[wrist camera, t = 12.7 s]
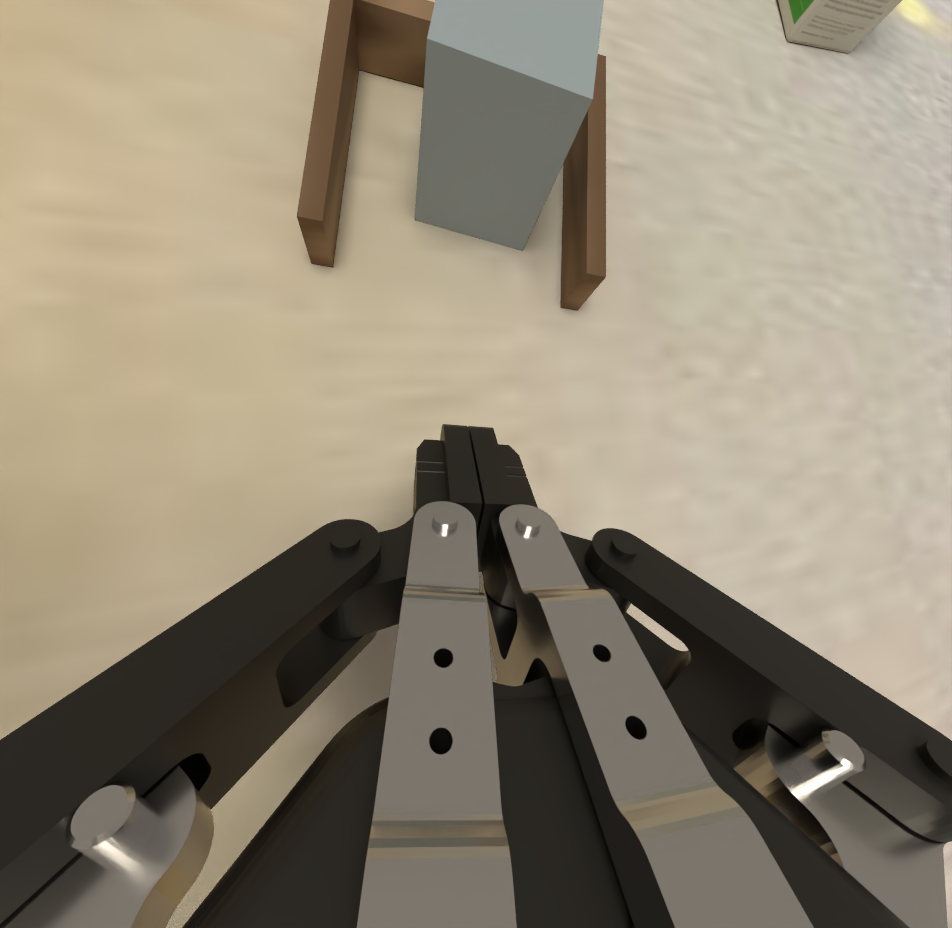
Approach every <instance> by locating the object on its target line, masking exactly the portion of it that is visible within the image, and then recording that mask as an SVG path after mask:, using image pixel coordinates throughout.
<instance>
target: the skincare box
mask: <svg viewBox="0 0 952 928" xmlns="http://www.w3.org/2000/svg"><path fill="white" fill-rule="evenodd" d="M901 1H902V0H778V2H779V6H780V11H781V15H782V20H783V25H784V29H785V35H786V38H787V41H788V42H794V43H799V44H804V45H809V46H814V47H819V48H824V49H829V50H834V51H839V52H844V53H850V52H851V51H852V50H853V49H854V48H855V47H856V46H857V45H858V44H859V43H860V42H861V41H862V40H863V39H864V38H865V37H866V36H867V35H868V34H869V33H870V32H871V31H872V30H873V29H874V28H875V27H876V26H877V25H878V24H879V23H880V22H881V21H882V20H883V19H884V18H885V17H886V16H887V15H888V14H889V13H890V12H891V11H892V10H893V9H894V8H895V7H896V6H897V5H898V4H899V3H900V2H901Z"/></svg>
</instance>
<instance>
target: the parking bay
mask: <svg viewBox="0 0 952 928" xmlns="http://www.w3.org/2000/svg"><path fill="white" fill-rule="evenodd" d="M434 4H435V3H434V2H431V1H427V0H330V4H329V10H328V17H327V23H326V30H325V36H324V43H323V49H322V56H321V62H320V69H319V75H318V82H317V89H316V95H315V102H314V108H313V115H312V121H311V128H310V134H309V141H308V147H307V154H306V160H305V167H304V173H303V180H302V186H301V193H300V199H299V206H298V212H297V218H298V221H299V225H300V228H301V231H302V234H303V238H304V241H305V244H306V247H307V250H308V254H309V257H310V260H311V263H313V264H319V265H324V266H330V267H333V262H334V255H335V247H336V240H337V232H338V225H339V217H340V209H341V202H342V194H343V187H344V179H345V172H346V164H347V157H348V149H349V142H350V134H351V126H352V119H353V111H354V104H355V96H356V89H357V81H358V74H359V70H363V71H366V72H370V73H374V74H378V75H381V76H385V77H389V78H392V79H396V80H400V81H403V82H407V83H411V84H414V85H418V86H422V87H424V76H425V61H426V46H427V36H428V32H429V27H430V22H431V18H432V13H433V9H434ZM605 277H606V56H603V55H600V54H598V56H597V66H596V75H595V84H594V93H593V100H592V102H591V104H590V106H589V109H588V111H587V113H586V115H585V117H584V119H583V122H582V124H581V126H580V128H579V130H578V132H577V134H576V137H575V139H574V141H573V143H572V145H571V147H570V150H569V152H568V154H567V156H566V158H565V160H564V180H563V228H562V275H561V307H562V308H568V309H574V310H578V309H579V308H580V307H581V306H582V304H583V303H584V302H585V301H586V300H587V299H588V297H589V296H590V295H591V294H592V293H593V291H594V290H595V289H596V288H597V287H598V286H599V284H600V283H601V282H602V281H603V280H604V278H605Z"/></svg>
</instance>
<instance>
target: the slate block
mask: <svg viewBox="0 0 952 928" xmlns="http://www.w3.org/2000/svg"><path fill="white" fill-rule="evenodd" d="M603 2H604V0H435V4H434V9H433V13H432V18H431V22H430V27H429V32H428V36H427V46H426V61H425V76H424V90H423V105H422V120H421V134H420V149H419V164H418V179H417V193H416V208H415V220H416V221H420V222H423V223H427V224H430V225H434V226H437V227H441V228H444V229H448V230H451V231H455V232H458V233H462V234H465V235H469V236H472V237H476V238H479V239H483V240H486V241H490V242H493V243H497V244H500V245H504V246H507V247H511V248H514V249H518V250H521V251H523V249H524V246H525V244H526V242H527V240H528V238H529V236H530V234H531V231H532V229H533V227H534V225H535V223H536V221H537V218H538V216H539V214H540V212H541V210H542V208H543V206H544V203H545V201H546V199H547V197H548V195H549V193H550V190H551V188H552V186H553V184H554V182H555V180H556V178H557V175H558V173H559V171H560V169H561V167H562V165H563V162H564V160H565V158H566V156H567V154H568V152H569V150H570V147H571V145H572V143H573V141H574V139H575V137H576V134H577V132H578V130H579V128H580V126H581V124H582V122H583V119H584V117H585V115H586V113H587V111H588V109H589V106H590V104H591V102H592V100H593V93H594V84H595V75H596V66H597V56H598V47H599V38H600V29H601V20H602V11H603Z"/></svg>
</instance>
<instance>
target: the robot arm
mask: <svg viewBox="0 0 952 928" xmlns="http://www.w3.org/2000/svg"><path fill="white" fill-rule="evenodd" d="M478 572H482V574H483V581H484V582H483V586H482V590H481V593H480V589H479V573H478ZM631 603H632V604H633V605H634V606H636V607H637V608H638V609H640V610H641V611H642V612H644V613H645V614H646V615H648V616H649V617H650V618H652V619H653V620H654V621H656V622H657V623H658V624H660V625H661V626H662V627H664V628H665V629H666V630H668V631H669V632H670V633H672V634H673V635H674V636H676V637H677V638H678V639H680V640H681V641H682V642H683V643H684V644H685V645H686V646H687V648H688V649H689V650H688V651H679V650H676V649H674V648H672V647H671V646H669V645H668V644H667V643H665V642H664V641H663V640H661V639H660V638H659V637H657V636H656V635H655V634H654V633H652V632H651V631H650V630H648V629H647V628H646V627H644V626H643V625H642V624H641V623H639V622H638V621H637V620H635V619H634V618H633V617H631V616H630V615H629V614H628V613H626V611H627V609H628V608H629V606H630V604H631ZM396 624H399V628H398V635H397V642H396V650H395V657H394V665H393V672H392V680H391V687H390V694H389V697H388V698H386V699H384V700H381V701H379V702H377V703H375V704H373V705H372V706H370V707H369V708H367V709H366V710H364V711H362V712H361V713H360V714H358V715H357V716H356V717H355V718H353V719H352V720H351V721H350V722H349V723H347V724H346V725H345V726H344V727H343V728H342V729H341V730H340V731H339V732H338V733H337V734H336V735H335V736H334V737H333V739H332V740H331V741H330V742H329V743H328V744H327V746H326V747H325V748H324V749H323V751H322V752H321V753H320V754H319V756H318V757H317V758H316V760H315V761H314V762H313V763H312V765H311V766H310V767H309V768H308V770H307V771H306V772H305V773H304V775H303V776H302V777H301V778H300V780H299V781H298V782H297V784H296V785H295V786H294V787H293V789H292V790H291V791H290V792H289V794H288V795H287V796H286V797H285V799H284V800H283V801H282V802H281V804H280V805H279V806H278V808H277V809H276V810H275V811H274V813H273V814H272V815H271V816H270V818H269V819H268V820H267V821H266V823H265V824H264V825H263V827H262V828H261V829H260V830H259V832H258V833H257V834H256V835H255V837H254V838H253V839H252V840H251V842H250V843H249V844H248V845H247V847H246V848H245V849H244V851H243V852H242V853H241V854H240V856H239V857H238V858H237V859H236V861H235V862H234V863H233V864H232V866H231V867H230V868H229V869H228V871H227V872H226V873H225V875H224V876H223V877H222V878H221V880H220V881H219V882H218V883H217V885H216V886H215V887H214V888H213V890H212V891H211V892H210V893H209V895H208V896H207V897H206V898H205V900H204V901H203V902H202V904H201V905H200V906H199V907H198V909H197V910H196V911H195V912H194V914H193V915H192V916H191V917H190V919H189V920H188V921H187V922H186V924H185V925H184V926H183V927H182V928H948V927H947V910H946V893H945V876H944V859H943V847H944V845H945V844H946V843H947V842H950V841H952V741H951V740H950V739H949V738H947V737H946V736H944V735H943V734H941V733H940V732H938V731H937V730H935V729H934V728H932V727H931V726H929V725H927V724H926V723H924V722H923V721H921V720H920V719H918V718H917V717H915V716H913V715H912V714H910V713H909V712H907V711H906V710H904V709H903V708H901V707H900V706H898V705H896V704H895V703H893V702H892V701H890V700H889V699H887V698H886V697H884V696H882V695H881V694H879V693H878V692H876V691H875V690H873V689H872V688H870V687H869V686H867V685H865V684H864V683H862V682H861V681H859V680H858V679H856V678H855V677H853V676H851V675H850V674H848V673H847V672H845V671H844V670H842V669H841V668H839V667H837V666H836V665H834V664H833V663H831V662H830V661H828V660H827V659H825V658H824V657H822V656H820V655H819V654H817V653H816V652H814V651H813V650H811V649H810V648H808V647H806V646H805V645H803V644H802V643H800V642H799V641H797V640H796V639H794V638H793V637H791V636H789V635H788V634H786V633H785V632H783V631H782V630H780V629H779V628H777V627H775V626H774V625H772V624H771V623H769V622H768V621H766V620H765V619H763V618H761V617H760V616H758V615H757V614H755V613H754V612H752V611H751V610H749V609H748V608H746V607H744V606H743V605H741V604H740V603H738V602H737V601H735V600H734V599H732V598H730V597H729V596H727V595H726V594H724V593H723V592H721V591H720V590H718V589H717V588H715V587H713V586H712V585H710V584H709V583H707V582H706V581H704V580H703V579H701V578H699V577H698V576H696V575H695V574H693V573H692V572H690V571H689V570H687V569H685V568H684V567H682V566H681V565H679V564H678V563H676V562H675V561H673V560H672V559H670V558H668V557H667V556H665V555H664V554H662V553H661V552H659V551H658V550H656V549H654V548H653V547H651V546H650V545H648V544H647V543H645V542H644V541H642V540H641V539H639V538H637V537H636V536H634V535H632V534H630V533H628V532H626V531H623V530H619V529H613V528H607V529H602V530H600V531H598V532H597V533H596V534H595V535H594V537H593V539H592V541H590V540H587V539H583V538H579V537H576V536H572V535H569V534H566V533H563V532H561V531H559V529H558V527H557V525H556V523H555V521H554V520H553V519H552V517H551V516H550V515H548V514H547V513H546V512H544V511H543V510H541V509H539V508H538V507H537V504H536V501H535V499H534V496H533V493H532V490H531V487H530V485H529V482H528V479H527V478H526V474H525V471H524V468H523V465H522V462H521V460H520V457H519V455H518V454H517V453H516V452H515V451H514V450H513V449H512V448H511V447H510V446H509V445H499V444H498V443H497V439H496V436H495V433H494V429H493V428H488V427H475V426H468V427H467V426H460V425H447V424H443V425H442V430H441V438H440V441H439V440H425V439H424V441H423V442H422V443H421V444H420V446H419V447H418V448H417V455H416V468H415V481H414V504H413V517H412V518H411V519H410V520H409V521H408V522H407V523H405V524H404V525H402V526H400V527H398V528H395V529H392V530H388V531H383V532H379V533H378V531H377V530H376V529H375V528H374V527H373V526H371V525H370V524H368V523H366V522H363V521H360V520H353V519H344V520H337V521H334V522H331V523H328V524H326V525H324V526H322V527H321V528H319V529H318V530H316V531H315V532H313V533H312V534H310V535H309V536H307V537H306V538H304V539H303V540H301V541H300V542H298V543H297V544H295V545H294V546H292V547H291V548H289V549H288V550H286V551H285V552H283V553H282V554H280V555H279V556H277V557H276V558H274V559H273V560H271V561H270V562H268V563H267V564H265V565H263V566H262V567H260V568H259V569H257V570H256V571H254V572H253V573H251V574H250V575H248V576H247V577H245V578H244V579H242V580H241V581H239V582H238V583H236V584H235V585H233V586H232V587H230V588H229V589H227V590H226V591H224V592H223V593H221V594H220V595H218V596H217V597H215V598H214V599H212V600H211V601H209V602H208V603H206V604H205V605H203V606H202V607H200V608H199V609H197V610H196V611H194V612H193V613H191V614H190V615H188V616H187V617H185V618H184V619H182V620H181V621H179V622H178V623H176V624H175V625H173V626H172V627H170V628H169V629H167V630H165V631H164V632H162V633H161V634H159V635H158V636H156V637H155V638H153V639H152V640H150V641H149V642H147V643H146V644H144V645H143V646H141V647H140V648H138V649H137V650H135V651H134V652H132V653H131V654H129V655H128V656H126V657H125V658H123V659H122V660H120V661H119V662H117V663H116V664H114V665H113V666H111V667H110V668H108V669H107V670H105V671H104V672H102V673H101V674H99V675H98V676H96V677H95V678H93V679H92V680H90V681H89V682H87V683H86V684H84V685H83V686H81V687H80V688H78V689H77V690H75V691H74V692H72V693H71V694H69V695H67V696H66V697H64V698H63V699H61V700H60V701H58V702H57V703H55V704H54V705H52V706H51V707H49V708H48V709H46V710H45V711H43V712H42V713H40V714H39V715H37V716H36V717H34V718H33V719H31V720H30V721H28V722H27V723H25V724H24V725H22V726H21V727H19V728H18V729H16V730H15V731H13V732H12V733H10V734H9V735H7V736H6V737H4V738H3V739H1V740H0V928H166V926H167V924H168V921H169V919H170V918H171V916H172V914H173V912H174V911H175V909H176V907H177V906H178V904H179V903H180V901H181V900H182V899H183V897H184V896H185V895H186V893H187V892H188V890H189V889H190V888H191V886H192V885H193V883H194V882H195V881H196V879H197V877H198V875H199V874H200V872H201V870H202V868H203V866H204V864H205V862H206V860H207V857H208V854H209V851H210V848H211V845H212V840H213V833H214V822H213V816H212V813H211V809H212V808H213V807H214V806H215V805H216V804H217V803H218V801H219V800H220V799H221V798H222V797H223V796H224V795H225V794H226V793H227V792H228V791H229V790H230V789H231V788H232V787H233V786H234V785H235V784H236V783H237V781H238V780H239V779H240V778H241V777H242V776H243V775H244V774H245V773H246V772H247V771H248V770H249V769H250V768H251V767H252V766H253V765H254V764H255V763H256V761H257V760H258V759H259V758H260V757H261V756H262V755H263V754H264V753H265V752H266V751H267V750H268V749H269V748H270V747H271V746H272V745H273V744H274V743H275V741H276V740H277V739H278V738H279V737H280V736H281V735H282V734H283V733H284V732H285V731H286V730H287V729H288V728H289V727H290V726H291V725H292V724H293V723H294V721H295V720H296V719H297V718H298V717H299V716H300V715H301V714H302V713H303V712H304V711H305V710H306V709H307V708H308V707H309V706H310V705H311V704H312V703H313V701H314V700H315V699H316V698H317V697H318V696H319V695H320V694H321V693H322V692H323V691H324V690H325V689H326V688H327V687H328V686H329V685H330V684H331V683H332V681H333V680H334V679H335V678H336V677H337V676H338V675H339V674H340V673H341V672H342V671H343V670H344V669H345V668H346V667H347V666H348V665H349V664H350V663H351V661H352V660H353V659H354V658H355V657H356V656H357V655H358V654H359V653H360V652H361V651H362V650H363V649H364V648H365V647H366V646H367V645H368V644H369V643H370V641H371V640H372V639H373V638H374V637H375V635H376V633H377V631H378V630H381V629H384V628H387V627H390V626H393V625H396ZM489 637H490V641H491V646H492V650H493V654H494V659H495V663H496V669H497V683H495V682H492V669H491V655H490V641H489Z"/></svg>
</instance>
